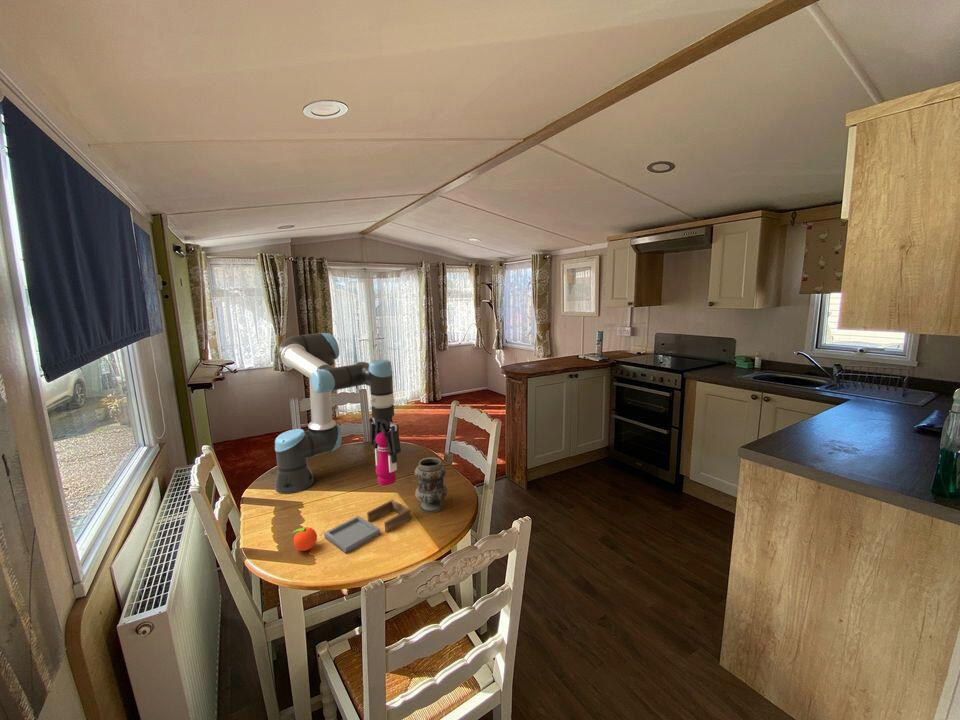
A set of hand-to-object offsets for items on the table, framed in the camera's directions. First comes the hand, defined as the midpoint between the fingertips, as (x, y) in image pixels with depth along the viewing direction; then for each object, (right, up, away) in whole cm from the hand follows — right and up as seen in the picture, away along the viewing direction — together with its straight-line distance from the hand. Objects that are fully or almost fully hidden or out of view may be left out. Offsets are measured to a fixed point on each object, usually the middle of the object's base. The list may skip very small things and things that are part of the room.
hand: (386, 467), depth 141 cm
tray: (-10, -22, -6) cm, 24 cm away
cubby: (+1, -20, +3) cm, 20 cm away
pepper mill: (0, -5, +1) cm, 5 cm away
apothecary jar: (+15, -18, +12) cm, 26 cm away
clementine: (-23, -23, -12) cm, 35 cm away
